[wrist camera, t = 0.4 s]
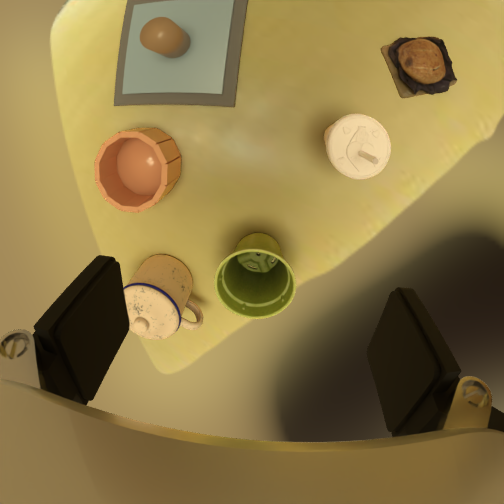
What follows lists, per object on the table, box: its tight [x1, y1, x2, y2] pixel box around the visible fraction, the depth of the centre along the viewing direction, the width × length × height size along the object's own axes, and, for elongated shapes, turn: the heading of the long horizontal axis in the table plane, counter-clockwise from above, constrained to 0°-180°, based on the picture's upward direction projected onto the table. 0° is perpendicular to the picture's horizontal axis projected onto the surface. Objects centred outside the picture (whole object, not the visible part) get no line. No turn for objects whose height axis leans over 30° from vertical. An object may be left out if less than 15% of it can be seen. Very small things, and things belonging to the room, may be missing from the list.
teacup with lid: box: [123, 255, 203, 340], centre depth 39 cm, size 12×9×12 cm
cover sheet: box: [122, 0, 235, 94], centre depth 26 cm, size 13×13×7 cm
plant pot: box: [214, 233, 296, 319], centre depth 37 cm, size 9×9×9 cm
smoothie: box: [324, 114, 391, 179], centre depth 27 cm, size 6×6×14 cm
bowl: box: [95, 128, 181, 213], centre depth 34 cm, size 10×10×6 cm
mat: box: [114, 0, 248, 107], centre depth 29 cm, size 16×16×1 cm
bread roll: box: [381, 37, 457, 98], centre depth 27 cm, size 11×8×4 cm
